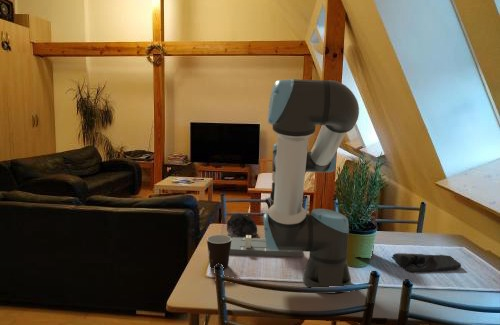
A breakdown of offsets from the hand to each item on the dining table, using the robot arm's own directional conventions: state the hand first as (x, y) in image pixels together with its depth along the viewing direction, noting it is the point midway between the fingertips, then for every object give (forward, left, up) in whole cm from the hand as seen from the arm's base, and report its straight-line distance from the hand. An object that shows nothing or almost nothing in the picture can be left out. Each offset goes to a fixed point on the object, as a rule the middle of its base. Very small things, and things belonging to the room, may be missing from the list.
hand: (279, 238), depth 142 cm
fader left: (-7, +12, -1) cm, 14 cm away
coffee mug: (-19, +22, -4) cm, 29 cm away
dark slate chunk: (-11, -54, -4) cm, 55 cm away
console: (-3, +6, -3) cm, 7 cm away
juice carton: (-5, -32, -4) cm, 33 cm away
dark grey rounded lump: (+13, +16, -4) cm, 21 cm away
